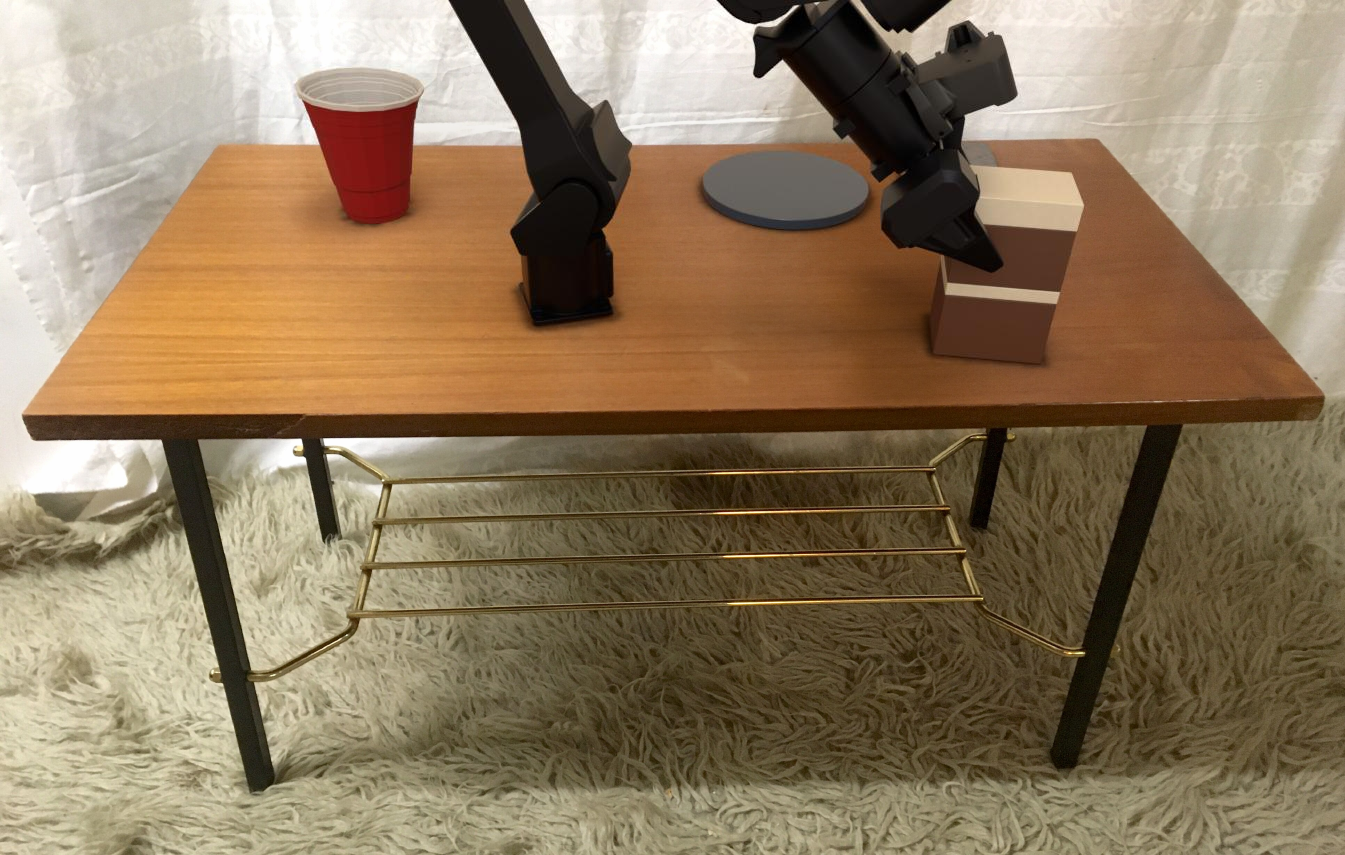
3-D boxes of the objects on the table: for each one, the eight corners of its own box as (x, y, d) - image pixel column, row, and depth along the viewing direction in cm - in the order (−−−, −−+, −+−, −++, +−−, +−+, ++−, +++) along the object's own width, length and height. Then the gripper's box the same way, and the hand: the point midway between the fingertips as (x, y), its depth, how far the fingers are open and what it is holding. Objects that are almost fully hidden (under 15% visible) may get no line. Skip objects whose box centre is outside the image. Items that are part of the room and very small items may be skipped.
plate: (734, 239, 95) (735, 229, 95) (681, 168, 107) (681, 158, 107) (896, 218, 99) (897, 208, 98) (827, 152, 111) (828, 143, 111)
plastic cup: (458, 218, 97) (444, 88, 90) (344, 247, 92) (319, 113, 85) (410, 176, 105) (394, 53, 97) (302, 201, 100) (276, 74, 92)
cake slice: (932, 354, 81) (964, 196, 73) (929, 317, 85) (958, 164, 77) (1040, 364, 80) (1084, 205, 72) (1031, 326, 84) (1071, 172, 76)
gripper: (969, 39, 60) (1118, 230, 66) (948, -42, 75) (1071, 120, 81) (816, 161, 66) (965, 328, 71) (825, 63, 81) (948, 208, 86)
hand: (991, 238), depth 77 cm, fingers open, 9 cm apart
